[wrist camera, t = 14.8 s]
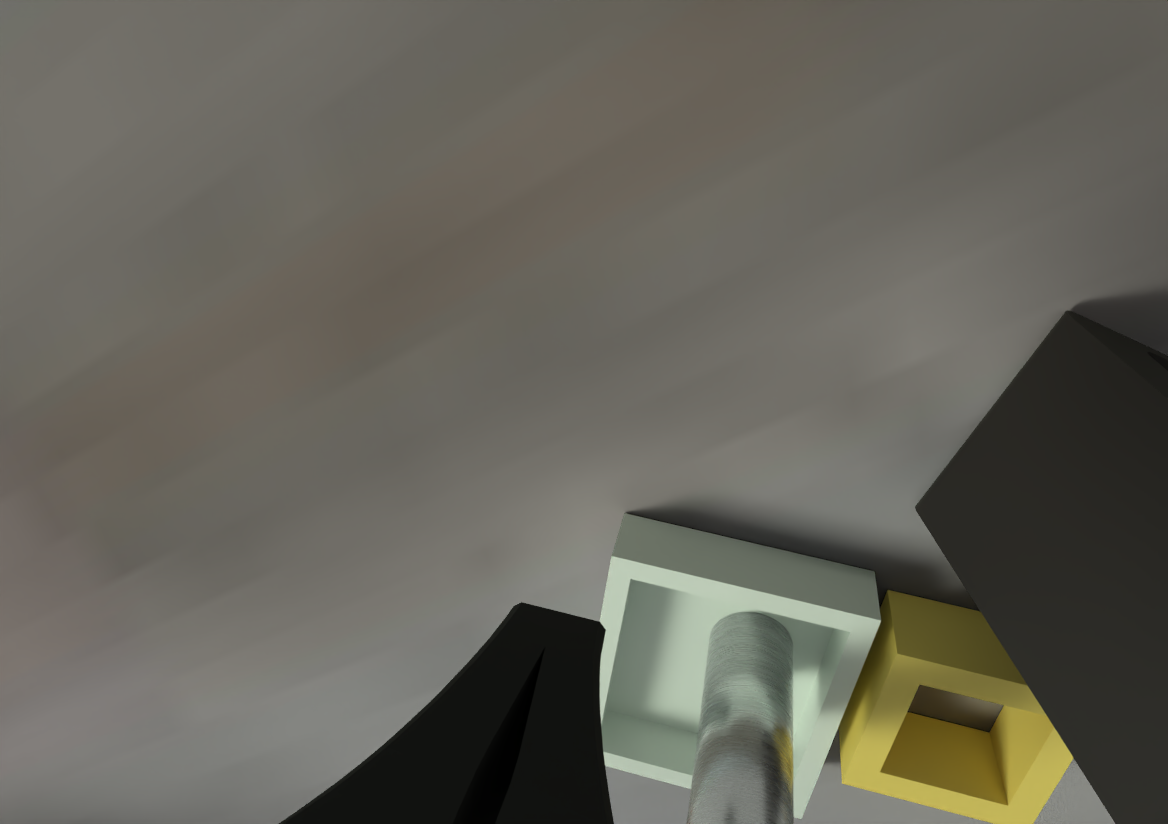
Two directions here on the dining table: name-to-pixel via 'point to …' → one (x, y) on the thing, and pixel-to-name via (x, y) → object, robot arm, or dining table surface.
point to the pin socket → (941, 749)
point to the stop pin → (745, 725)
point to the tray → (681, 637)
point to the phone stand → (1076, 549)
